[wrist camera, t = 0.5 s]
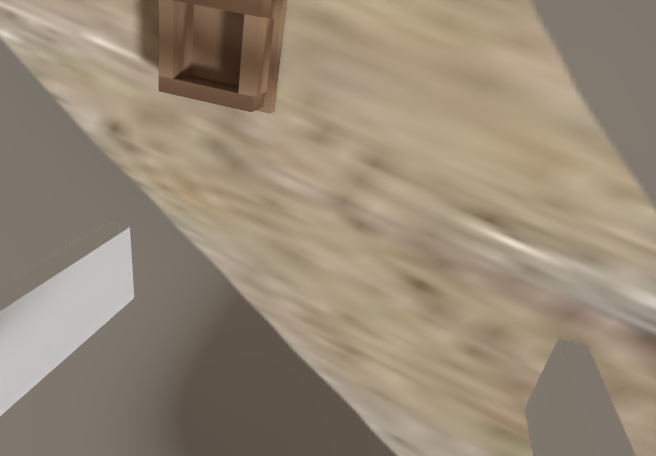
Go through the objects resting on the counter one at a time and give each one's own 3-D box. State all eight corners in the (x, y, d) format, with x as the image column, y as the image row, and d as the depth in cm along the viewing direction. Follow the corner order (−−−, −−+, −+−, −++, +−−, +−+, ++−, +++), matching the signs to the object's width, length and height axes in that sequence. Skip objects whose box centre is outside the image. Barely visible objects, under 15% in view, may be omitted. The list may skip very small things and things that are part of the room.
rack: (181, -24, 36) (152, -30, 32) (287, -5, 35) (269, -9, 31) (179, 90, 40) (153, 96, 36) (274, 111, 39) (256, 119, 35)
